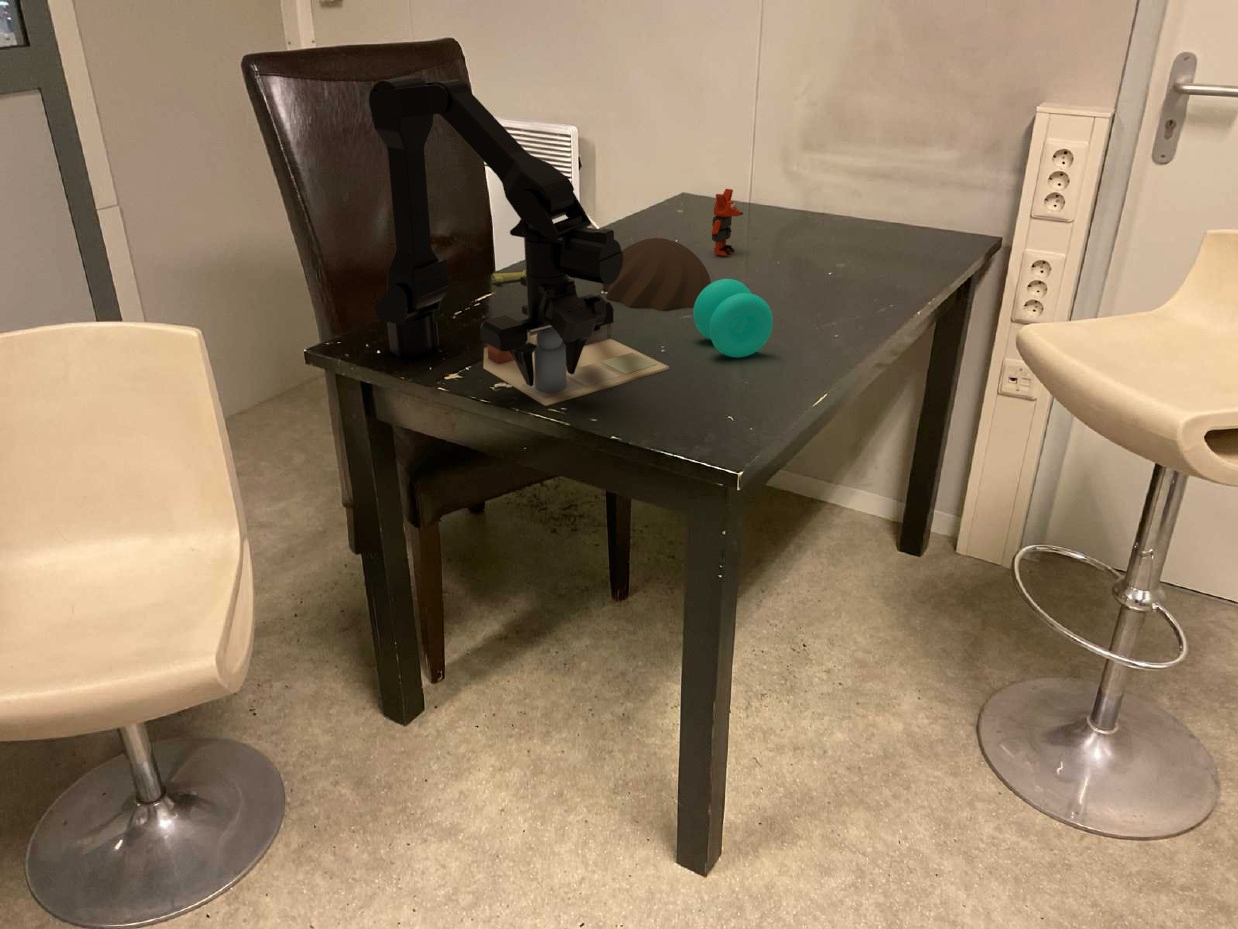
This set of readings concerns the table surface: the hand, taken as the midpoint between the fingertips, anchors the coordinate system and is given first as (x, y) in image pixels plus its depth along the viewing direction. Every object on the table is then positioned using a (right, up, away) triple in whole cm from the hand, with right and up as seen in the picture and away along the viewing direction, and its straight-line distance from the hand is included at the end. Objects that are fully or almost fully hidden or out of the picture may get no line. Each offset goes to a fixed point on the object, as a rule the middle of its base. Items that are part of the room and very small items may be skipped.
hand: (550, 379), depth 141 cm
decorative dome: (+16, +19, +39) cm, 46 cm away
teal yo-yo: (+27, +6, +15) cm, 31 cm away
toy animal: (+31, +30, +60) cm, 74 cm away
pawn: (0, -1, 0) cm, 1 cm away
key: (-8, +19, +40) cm, 45 cm away
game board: (+1, +3, +9) cm, 10 cm away
